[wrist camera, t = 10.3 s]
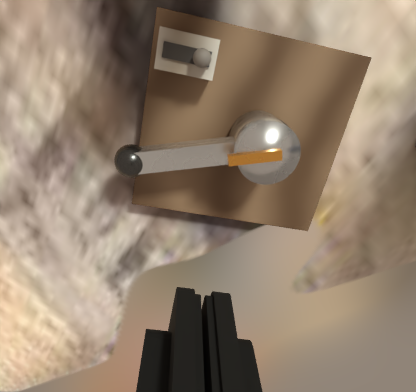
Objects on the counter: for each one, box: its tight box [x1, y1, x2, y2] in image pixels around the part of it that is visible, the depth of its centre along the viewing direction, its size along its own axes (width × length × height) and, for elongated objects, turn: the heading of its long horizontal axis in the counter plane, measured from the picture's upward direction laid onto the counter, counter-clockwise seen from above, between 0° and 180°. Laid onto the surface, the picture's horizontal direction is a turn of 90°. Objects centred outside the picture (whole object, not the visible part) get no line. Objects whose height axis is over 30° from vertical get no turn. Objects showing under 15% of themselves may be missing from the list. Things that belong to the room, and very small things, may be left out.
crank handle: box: [114, 110, 301, 185], centre depth 24 cm, size 13×4×5 cm, turn 96°
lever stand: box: [132, 7, 371, 231], centre depth 26 cm, size 16×15×5 cm
